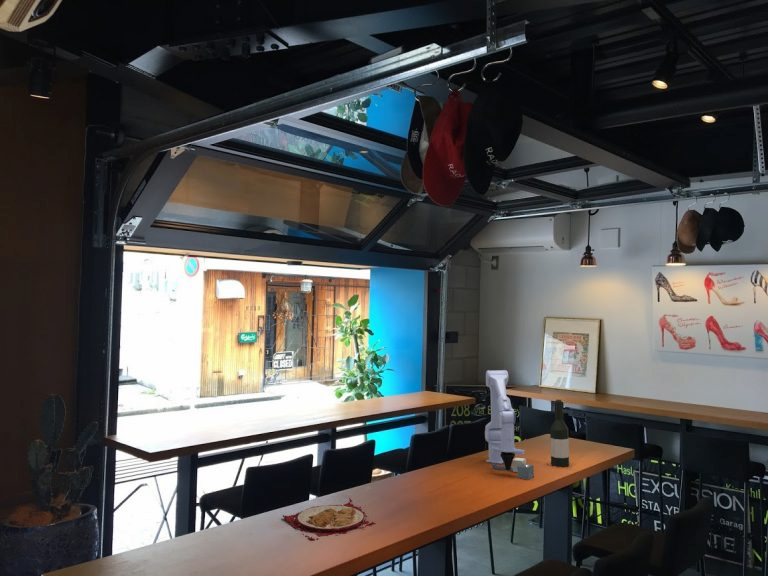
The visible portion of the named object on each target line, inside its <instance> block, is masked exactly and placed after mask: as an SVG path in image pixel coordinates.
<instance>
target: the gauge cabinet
mask: <svg viewBox="0 0 768 576" xmlns="http://www.w3.org/2000/svg"><path fill="white" fill-rule="evenodd" d="M534 466H535V465H534V464H529V463H526V464H523V463H522V464H521V465H519V466H517V468H518V472H517V479H519V478H520V479H522V480H526V479H527V480H528V481H529V480H531V479H532V478H534V477H535V475H534V474H535V473H534V471H535V470H534ZM527 480H526V481H527Z"/></svg>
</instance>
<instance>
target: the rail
mask: <svg viewBox="0 0 768 576" xmlns="http://www.w3.org/2000/svg"><path fill="white" fill-rule="evenodd" d="M491 470H498V471H505V470H506V468H505V465H501V464H497V463H492V464H491ZM512 471H513V466H511V469H510V470H509V471H508V470H506V471H505V472H512Z"/></svg>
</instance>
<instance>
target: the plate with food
mask: <svg viewBox="0 0 768 576" xmlns="http://www.w3.org/2000/svg"><path fill="white" fill-rule="evenodd" d="M348 499H349V502H346V503H344V504H343V505H342V504H329V505H327V504H326V505H317V506H312V507H310V508H309V507H308V508H306V509H304V510H301V511H300V512H297V513H295V514H290V515H284V514H282V518H283V519H284V520H286V521H287V522H289V524H290V525H291V526H292V527H294V528H295V529H296V528H300V529H299V531H300V532H305V533H311V534H314V535H315V536H317V537H316V538H315V537H313V536H309V535H307V537H308V539H309V540H316V541H317V540H319V538H320V537H329V536H332V535H344V534H349V533H350V531H351V530H354V529H358V528H359V527H360V528H359V529H360V530H364V529H366V528H367V527H372V526H373V525H377V523H376V522H375V521H371V522H370V520H367V521H366V518H368V516H367V514H366V512H365V511H362V506H355V504H353V500H352V499H351V497H349V498H348ZM363 525H365V526H363ZM302 534H303V536H305V535H304V533H302Z"/></svg>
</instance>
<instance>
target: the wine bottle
mask: <svg viewBox="0 0 768 576" xmlns="http://www.w3.org/2000/svg"><path fill="white" fill-rule="evenodd" d="M554 414H555V415H554V417H555V419H554V422H553V423H552V425H551V427H550V429H549V431H550V433H549V435H550V466H553V467H555V466H556V467H555V468H567V467H569V466H570V448H569V447H570V443H569V427H568V426H567V424H566V423H565V421H564V418H563V417H564V414H563V401H562V399H559V398H558V399H555V402H554Z"/></svg>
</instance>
